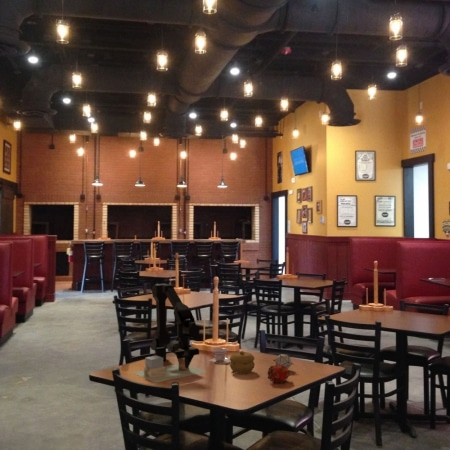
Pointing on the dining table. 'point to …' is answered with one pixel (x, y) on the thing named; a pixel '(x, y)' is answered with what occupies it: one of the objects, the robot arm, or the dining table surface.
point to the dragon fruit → (278, 373)
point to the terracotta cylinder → (182, 364)
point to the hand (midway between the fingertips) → (183, 367)
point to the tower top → (154, 362)
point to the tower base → (154, 371)
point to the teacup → (220, 356)
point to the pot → (242, 362)
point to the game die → (283, 360)
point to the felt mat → (171, 373)
